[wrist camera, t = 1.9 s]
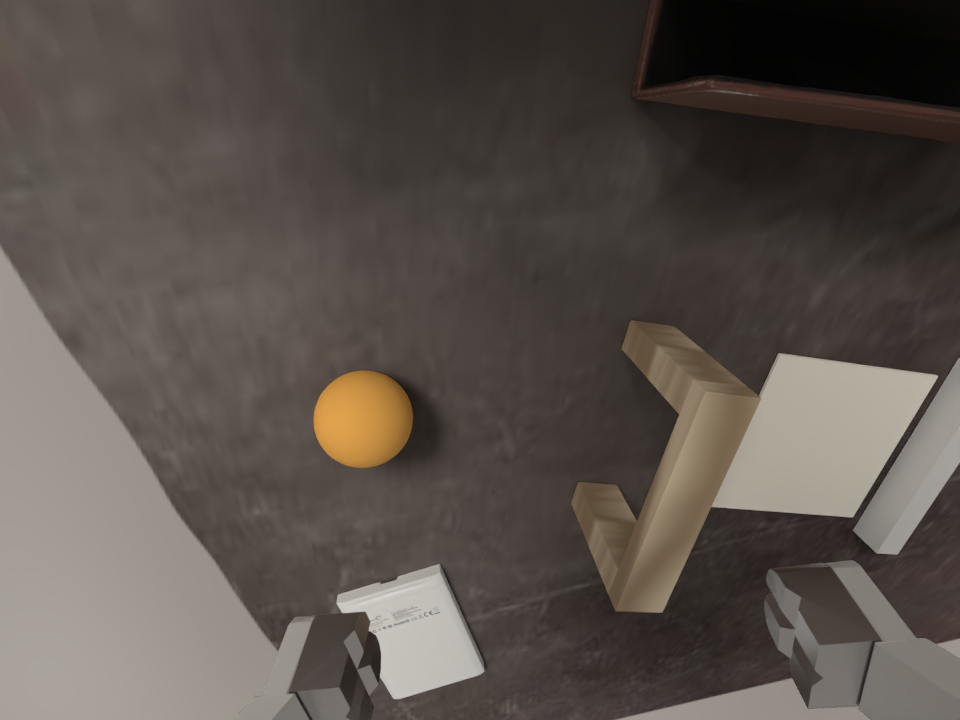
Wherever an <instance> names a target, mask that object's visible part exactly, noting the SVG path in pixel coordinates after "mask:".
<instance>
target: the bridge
mask: <svg viewBox="0 0 960 720" xmlns="http://www.w3.org/2000/svg"><path fill="white" fill-rule="evenodd" d="M622 350H623V351H624V352H625V354H626V355H627V356H628V357H629V358H630V359H631V360H632V362H633V363H634V364H635V365H636V366H637V367H638V368H639V369H640V371H641V372H642V373H643V374H644V375H645V376H646V377H647V379H648V380H649V381H650V382H651V383H652V384H653V385H654V387H655V388H656V389H657V390H658V391H659V392H660V393H661V394H662V396H663V397H664V398H665V399H666V400H667V401H668V402H669V404H670V405H671V406H672V407H673V408H674V409H675V410H676V412H677V413H678V414H679V417H678V419H677V422H676V424H675V427H674V429H673V432H672V434H671V437H670V439H669V442H668V444H667V447H666V449H665V452H664V455H663V457H662V460H661V462H660V465H659V467H658V470H657V472H656V475H655V477H654V480H653V482H652V485H651V487H650V490H649V492H648V495H647V497H646V500H645V503H644V505H643V508H642V510H641V513H640V515H639V518H638V520H637V521H636V519H635V517H634V515H633V513H632V512H631V510H630V508H629V506H628V504H627V503H626V501H625V499H624V497H623V495H622V493H621V492H620V490H619V488H618V486H617V485H612V484H600V483H587V482H578V484H577V487H576V490H575V493H574V496H573V499H572V503H571V504H572V507H573V509H574V512H575V514H576V517H577V519H578V522H579V524H580V526H581V529H582V531H583V534H584V536H585V539H586V541H587V544H588V546H589V548H590V551H591V553H592V556H593V558H594V561H595V563H596V566H597V568H598V570H599V573H600V575H601V578H602V580H603V583H604V585H605V588H606V590H607V592H608V595H609V597H610V600H611V602H612V605H613V607H614V610H615V611H623V612H654V613H662V612H663V610H664V608H665V606H666V604H667V602H668V599H669V597H670V595H671V593H672V591H673V589H674V587H675V584H676V582H677V580H678V578H679V576H680V574H681V571H682V569H683V567H684V565H685V563H686V561H687V558H688V556H689V554H690V552H691V550H692V548H693V545H694V543H695V541H696V539H697V537H698V535H699V532H700V530H701V528H702V526H703V524H704V522H705V519H706V517H707V515H708V513H709V511H710V509H711V506H712V504H713V502H714V500H715V498H716V496H717V493H718V491H719V489H720V487H721V485H722V483H723V480H724V478H725V476H726V474H727V472H728V470H729V468H730V465H731V463H732V461H733V459H734V457H735V455H736V452H737V450H738V448H739V446H740V444H741V442H742V439H743V437H744V435H745V433H746V431H747V429H748V426H749V424H750V422H751V420H752V418H753V416H754V413H755V411H756V409H757V407H758V405H759V403H760V400H761V397H759V396H758V395H757V394H756V393H755V392H753V391H752V390H751V389H750V388H748V387H747V386H746V385H745V384H744V383H742V382H741V381H740V380H739V379H738V378H736V377H735V376H734V375H733V374H732V373H730V372H729V371H728V370H727V369H725V368H724V367H723V366H722V365H721V364H719V363H718V362H717V361H716V360H715V359H713V358H712V357H711V356H710V355H708V354H707V353H706V352H705V351H704V350H702V349H701V348H700V347H699V346H698V345H696V344H695V343H694V342H693V341H692V340H690V339H689V338H688V337H687V336H685V335H684V334H683V333H682V332H681V331H679V330H678V329H677V328H676V327H675V326H669V325H662V324H655V323H648V322H641V321H634V320H631V321H630V324H629V327H628V330H627V333H626V336H625V340H624V343H623V346H622Z"/></svg>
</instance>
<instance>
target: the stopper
mask: <svg viewBox="0 0 960 720" xmlns="http://www.w3.org/2000/svg"><path fill="white" fill-rule="evenodd" d="M959 463H960V358H958V360H957V362H956V363H955V365H954V366H953V368H952V370H951V371H950V373H949V375H948V376H947V378H946V379H945V381H944V383H943V384H942V386H941V388H940V389H939V391H938V392H937V394H936V396H935V397H934V399H933V401H932V402H931V404H930V406H929V407H928V409H927V410H926V412H925V414H924V415H923V417H922V419H921V420H920V422H919V423H918V425H917V427H916V428H915V430H914V432H913V433H912V435H911V436H910V438H909V440H908V441H907V443H906V445H905V446H904V448H903V449H902V451H901V453H900V454H899V456H898V458H897V459H896V461H895V463H894V464H893V466H892V467H891V469H890V471H889V472H888V474H887V476H886V477H885V479H884V480H883V482H882V484H881V485H880V487H879V489H878V490H877V492H876V493H875V495H874V497H873V498H872V500H871V502H870V503H869V505H868V507H867V508H866V510H865V511H864V513H863V515H862V516H861V518H860V520H859V521H858V523H857V524H856V526H855V528H854V529H853V531H854V532H855V533H856V534H857V535H858V536H859V537H860V538H861V539H862V540H863V541H864V542H865V543H866V544H867V545H868V546H869V547H870V548H872V549H873V550H874V551H875V552H876V553H880V554H896V555H898V553H899V552H900V550H901V549H902V547H903V546H904V544H905V543H906V541H907V540H908V538H909V537H910V535H911V534H912V532H913V531H914V529H915V528H916V526H917V525H918V523H919V522H920V521H921V519H922V518H923V516H924V515H925V513H926V512H927V510H928V509H929V507H930V506H931V504H932V503H933V501H934V500H935V498H936V497H937V495H938V494H939V492H940V491H941V489H942V488H943V486H944V485H945V483H946V482H947V480H948V479H949V478H950V476H951V475H952V473H953V472H954V470H955V469H956V467H957V466H958V464H959Z"/></svg>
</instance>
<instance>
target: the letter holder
mask: <svg viewBox="0 0 960 720" xmlns="http://www.w3.org/2000/svg"><path fill="white" fill-rule="evenodd" d="M631 96H632V98H633V99H636V100H646V101H653V102H661V103H669V104H675V105H681V106H689V107H696V108H704V109H712V110H719V111H725V112H732V113H741V114H748V115H755V116H762V117H770V118H778V119H786V120H792V121H799V122H805V123H813V124H814V123H815V124H821V125H829V126H836V127H842V128H851V129H858V130H865V131H874V132H880V133H888V134H896V135H904V136H911V137H919V138H927V139H932V140H939V141H944V142H950V141H960V0H650V3H649V9H648V13H647V19H646V24H645V29H644V33H643V38H642V43H641V49H640V52H639V56H638V65H637V69H636V73H635V78H634V84H633V90H632V95H631Z"/></svg>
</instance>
